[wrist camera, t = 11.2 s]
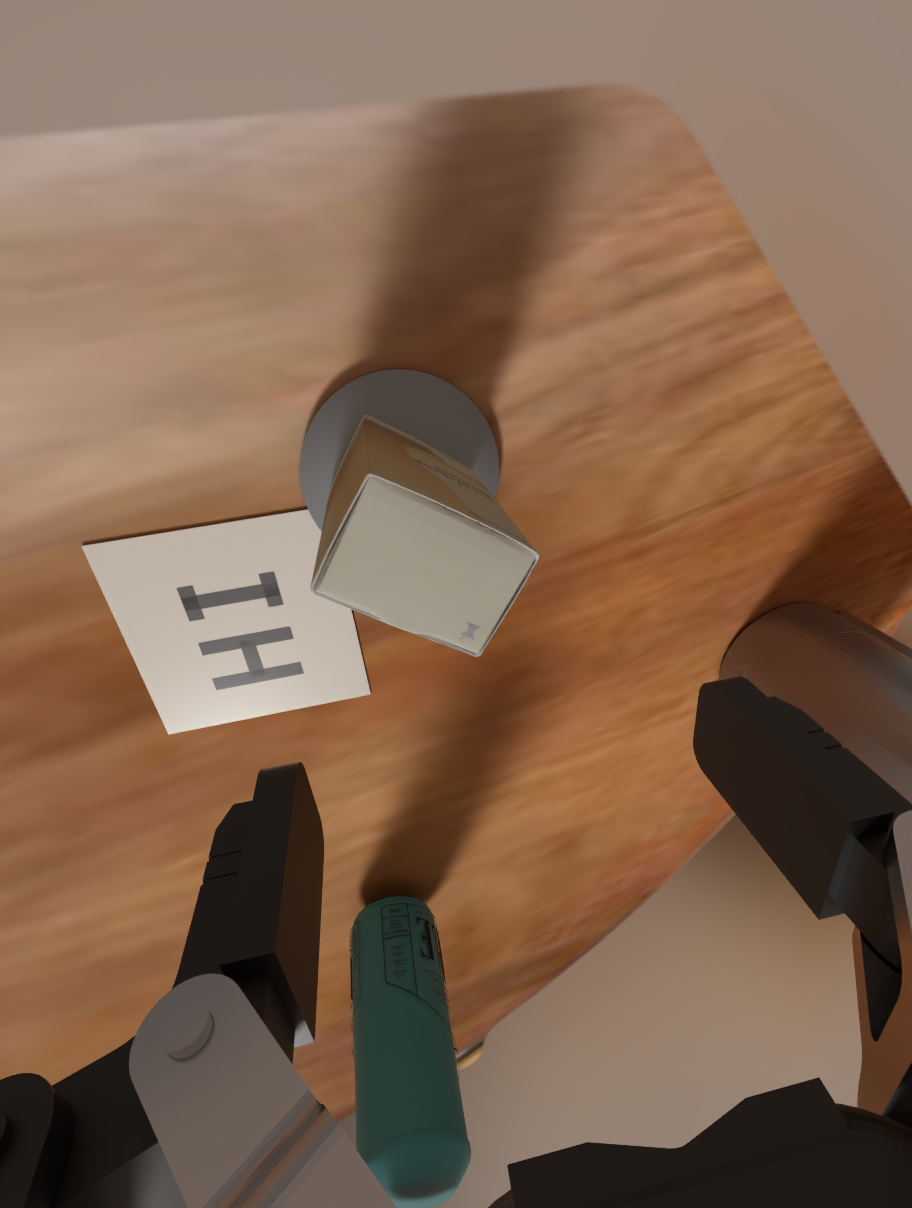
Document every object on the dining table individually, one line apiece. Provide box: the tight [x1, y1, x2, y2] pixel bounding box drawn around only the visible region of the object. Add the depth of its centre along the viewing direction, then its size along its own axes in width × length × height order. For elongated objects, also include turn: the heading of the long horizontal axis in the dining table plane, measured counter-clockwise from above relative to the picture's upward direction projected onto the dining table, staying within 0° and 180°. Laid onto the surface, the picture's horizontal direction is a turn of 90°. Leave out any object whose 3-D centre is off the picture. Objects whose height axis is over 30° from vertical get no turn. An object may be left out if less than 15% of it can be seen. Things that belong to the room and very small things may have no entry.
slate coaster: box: [300, 369, 499, 531], centre depth 28 cm, size 10×10×1 cm
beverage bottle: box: [349, 896, 471, 1208], centre depth 34 cm, size 6×7×20 cm
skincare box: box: [310, 414, 539, 657], centre depth 22 cm, size 6×4×12 cm
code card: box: [82, 509, 371, 734], centre depth 31 cm, size 12×12×1 cm
